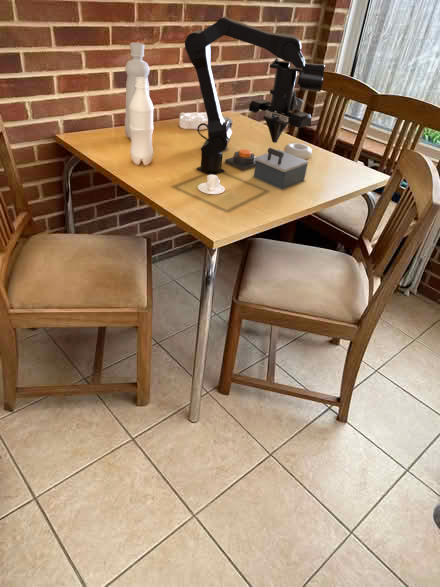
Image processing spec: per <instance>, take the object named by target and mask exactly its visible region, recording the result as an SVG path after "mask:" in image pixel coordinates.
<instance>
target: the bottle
mask: <svg viewBox="0 0 440 587" xmlns="http://www.w3.org/2000/svg"><path fill="white" fill-rule="evenodd" d="M145 47H146V46H145V43H142V42H130V43H129V48H130V54H129V55H130V56H131V57H132V59H129V60H128V61H126V65H125V66H124V70H125V73H126V75H127V77H126V82H125V84H126V85H125V117H124V135H125V136H126V137H127V138H128V139H130V140H131V131H130V109H129V106H130V102H131V100H132V98H133V96H134V94H135V91H136V87H135V85H136V77H145V78H147V86H148V88H147V92H148V95H149V96H150V82H149V75H150V71H151V69H150V66H149V63H148V62H146V60H145V61H144V60H143V58H144V57H145Z"/></svg>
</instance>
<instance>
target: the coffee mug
mask: <svg viewBox="0 0 440 587" xmlns="http://www.w3.org/2000/svg"><path fill="white" fill-rule="evenodd" d="M222 117H223V119H224V120H225V121H227V120H229V122H230V129H231V130H232V126H233V121H234V120H233V119H232V118H230V117H227V116H223V115H222ZM202 125H205V126H206V127H207V129H206V130H208V125H207V124H205V123H202V124H200V125H199V126H198V128H197V129H196V131H197V133H198V135H200V137H202V139H204V140H205V141H206V140H207V139H208V137H206V136H204V135H203V134H202V132H200V130H199V127H200V126H202ZM227 149H228V146H227V147H226V148H225V149H224V150H223V152H225V151H227Z"/></svg>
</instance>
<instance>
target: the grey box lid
mask: <svg viewBox="0 0 440 587" xmlns="http://www.w3.org/2000/svg"><path fill="white" fill-rule="evenodd" d="M255 160H257V161H259V162H261V163H264V164H266V165H269V166H271V167H273V168H276V169H278V170H280V171H283V172H287V171H289V170H292V169H294V168H297V167H300V166H302V165H305V164H309V160H307V159H301V158H299V157H296V156H294V155H291V154H289V153H286V152H285V151H284V150H281V149H274V148H272V147H269V148H268V149H267V153H264V154H260V155H257V156H255Z"/></svg>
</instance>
